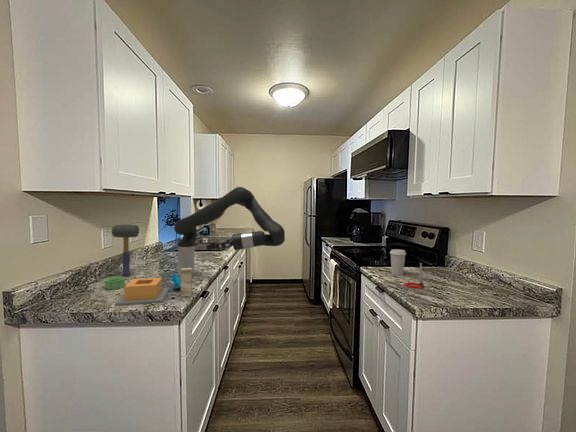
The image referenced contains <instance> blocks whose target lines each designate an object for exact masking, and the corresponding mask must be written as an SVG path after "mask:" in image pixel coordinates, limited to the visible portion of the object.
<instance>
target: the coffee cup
mask: <svg viewBox="0 0 576 432" xmlns="http://www.w3.org/2000/svg"><path fill="white" fill-rule="evenodd" d="M389 254H390V264H391V274H392V275H393V276H404V269H405V261H406V255H407V252H406V250H404V249H397V248H394V249H391V250H390V251H389Z"/></svg>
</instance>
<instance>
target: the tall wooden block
mask: <svg viewBox="0 0 576 432" xmlns="http://www.w3.org/2000/svg"><path fill="white" fill-rule="evenodd" d="M180 277H181V287H180V288H181V289H180V297H192V293H193V275H192V268H182V269H181V276H180Z"/></svg>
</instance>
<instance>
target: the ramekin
mask: <svg viewBox="0 0 576 432" xmlns="http://www.w3.org/2000/svg"><path fill="white" fill-rule="evenodd" d="M125 282H126V277H124V276H121V275H120V276H113V277H111V276H110V277H107V278H105V279H104V285H105V286H104V287H105V289H106V290H119V289H121V288H124V287H125Z"/></svg>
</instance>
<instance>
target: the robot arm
mask: <svg viewBox="0 0 576 432" xmlns="http://www.w3.org/2000/svg"><path fill="white" fill-rule="evenodd" d="M234 205H239V206H241V207H244V208H245V209H247V210H248V211H249V212H250V214H251V215H252V217H253V219H254V221H255V222H256V224H257V225H258V226H259V227H260V228H261V229H262V230H258V231H251V232H242V233H241V232H240V233H237V234H235V233H233V234H232V235H231V239H229V238H226V239H222V240H219V241H217V242H215V241H214V242H210V243H209V244H207V245H206V250H207V251H210V250H220V249H221V250H223V249H230V247H233V250H234V251H239V250H246V249H251V248H255V247H261V246H267V247H279V246H281V245H283V244H284V243H285V240H286V237H285V235H286V234H285V229H284V227H283V226H282V225H281V224H280V223H278V222H277V221H275V220H274V219H273V218H271V216H270V215H269V214H268V213H267V212H266V211H265V210H264V209H263V208H262V206H261V205H260V203H259V202H258V201H257V198H255V195H254V194H253V193H252V191H250V190H249V189H247V188H245V187H242V186H236V187H235V188H233V189H232V190H230V191H229V192H227V193H226V194H224V195H223V196H222V197H220V198H218V199H217V200H215V201H213V202H211V203H210V204H207V205H206V206H204V207H203V208H200V209H198V210H197V211H195V212H193V213H192V214H191V215H188V216H186V217H183V218H181V219H179V220H177V221H176V222H175V224H174V232H175V233H176V234H177V235H180V236H182V238H181V239H180V240H179V241H178V243H177V262H178V263H177V272H178V273H177V274H179V276H178V277H181V269H182V268H192V276H194V275H195V270H196V269H195V267H196V266H195V265H196V264H195V263H196V262H195V259H196V257H195V255H196V253H195V249H196V247H195V245H196V244H195V243H196V241H197V227H199V226H203V225H206V224H210V223H212V222H214V221H216V220H218V219H221V217H222V216H223V215H225V212H226V210H227V209H228V208H230V207H232V206H234ZM265 232H268V234H267V233H265Z"/></svg>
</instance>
